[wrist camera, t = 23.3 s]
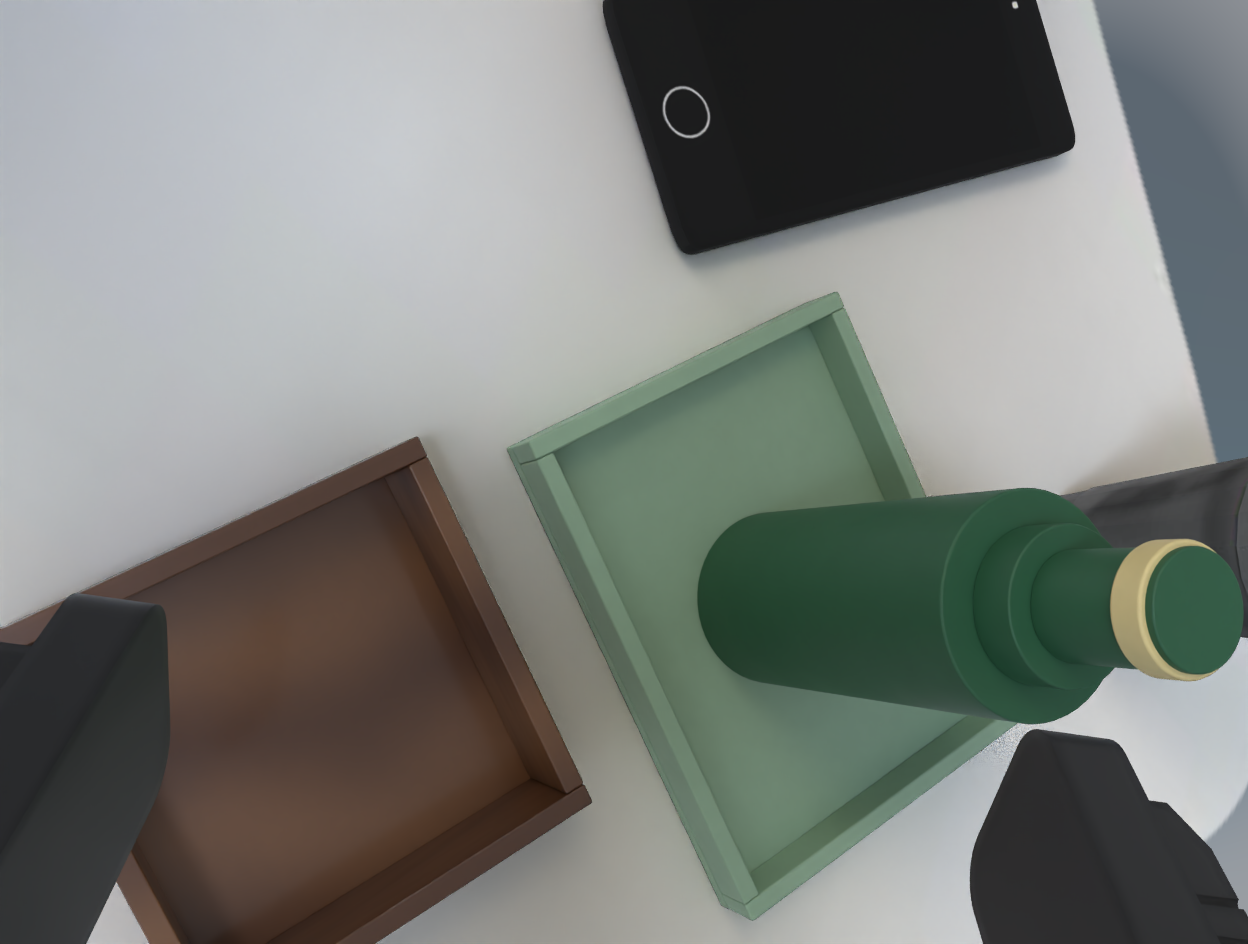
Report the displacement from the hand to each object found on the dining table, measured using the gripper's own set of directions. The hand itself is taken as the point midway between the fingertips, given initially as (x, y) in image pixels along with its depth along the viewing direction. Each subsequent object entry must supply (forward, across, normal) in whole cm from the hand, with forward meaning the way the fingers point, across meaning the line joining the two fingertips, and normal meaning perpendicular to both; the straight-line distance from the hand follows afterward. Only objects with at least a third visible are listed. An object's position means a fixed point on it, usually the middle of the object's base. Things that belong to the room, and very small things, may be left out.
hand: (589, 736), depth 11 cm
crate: (+17, +7, +16) cm, 24 cm away
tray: (+24, -7, +14) cm, 29 cm away
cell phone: (+36, -8, 0) cm, 37 cm away
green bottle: (+24, -7, +14) cm, 29 cm away
